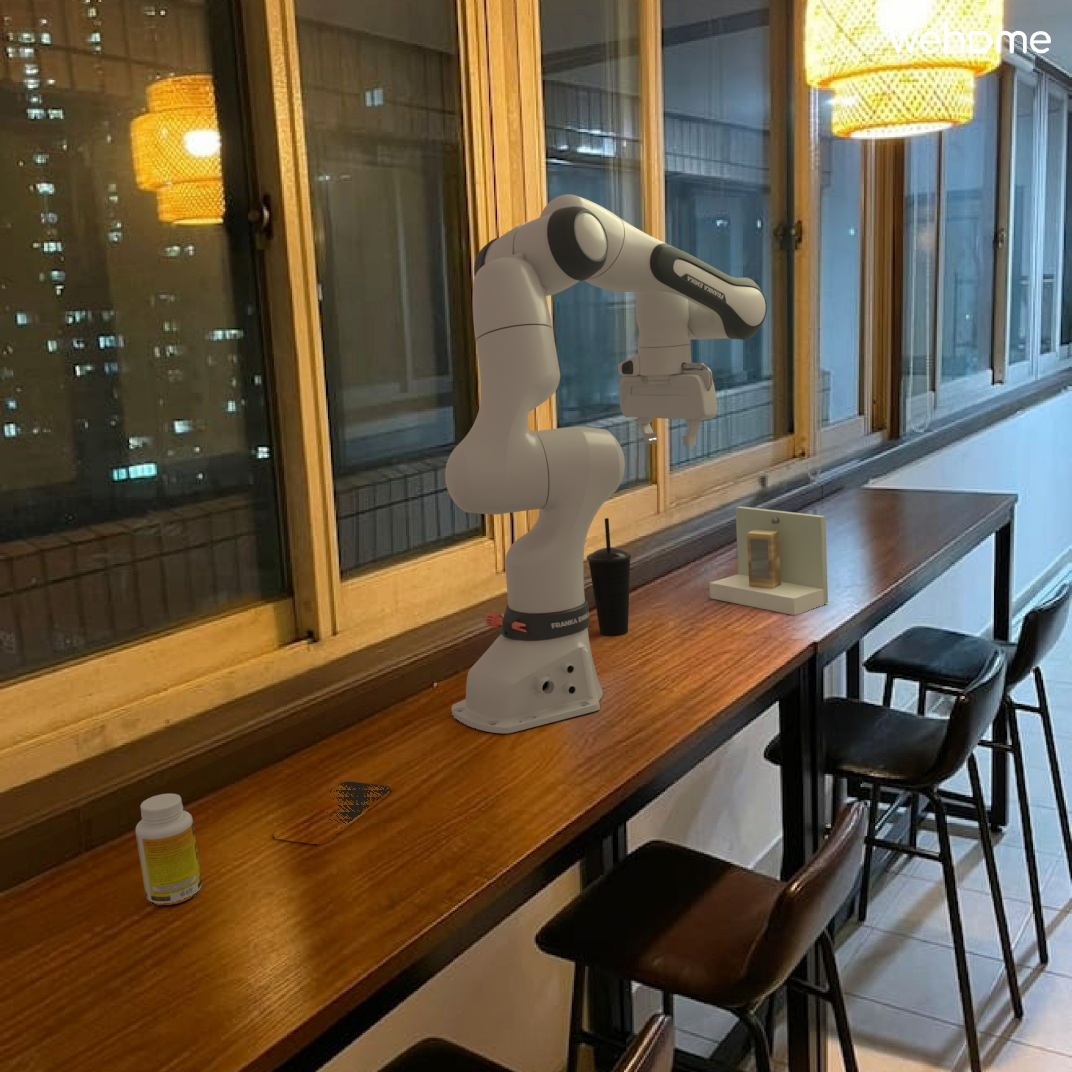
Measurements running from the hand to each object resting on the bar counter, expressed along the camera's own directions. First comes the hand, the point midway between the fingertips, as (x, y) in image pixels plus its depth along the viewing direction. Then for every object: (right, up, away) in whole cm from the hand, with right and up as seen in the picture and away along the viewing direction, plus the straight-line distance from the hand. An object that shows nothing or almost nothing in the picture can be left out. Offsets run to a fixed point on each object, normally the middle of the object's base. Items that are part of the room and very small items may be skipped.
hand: (669, 444), depth 195 cm
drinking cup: (-9, -32, +2) cm, 34 cm away
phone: (-46, -49, -62) cm, 91 cm away
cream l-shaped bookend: (+19, -28, +14) cm, 36 cm away
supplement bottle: (-60, -53, -79) cm, 112 cm away
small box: (+19, -25, +13) cm, 34 cm away
